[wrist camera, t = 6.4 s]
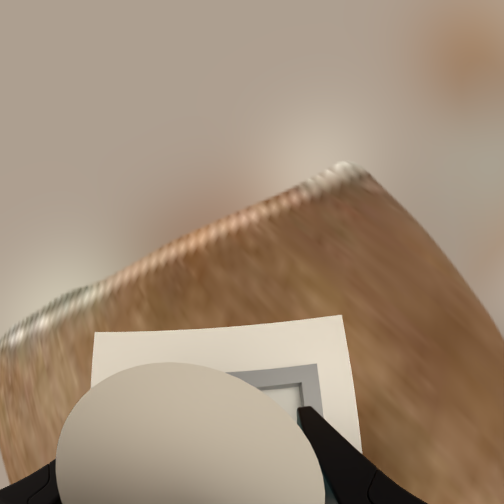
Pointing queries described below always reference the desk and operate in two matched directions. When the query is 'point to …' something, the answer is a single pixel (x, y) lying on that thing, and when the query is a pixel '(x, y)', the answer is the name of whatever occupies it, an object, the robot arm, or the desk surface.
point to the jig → (254, 362)
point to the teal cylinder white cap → (183, 442)
